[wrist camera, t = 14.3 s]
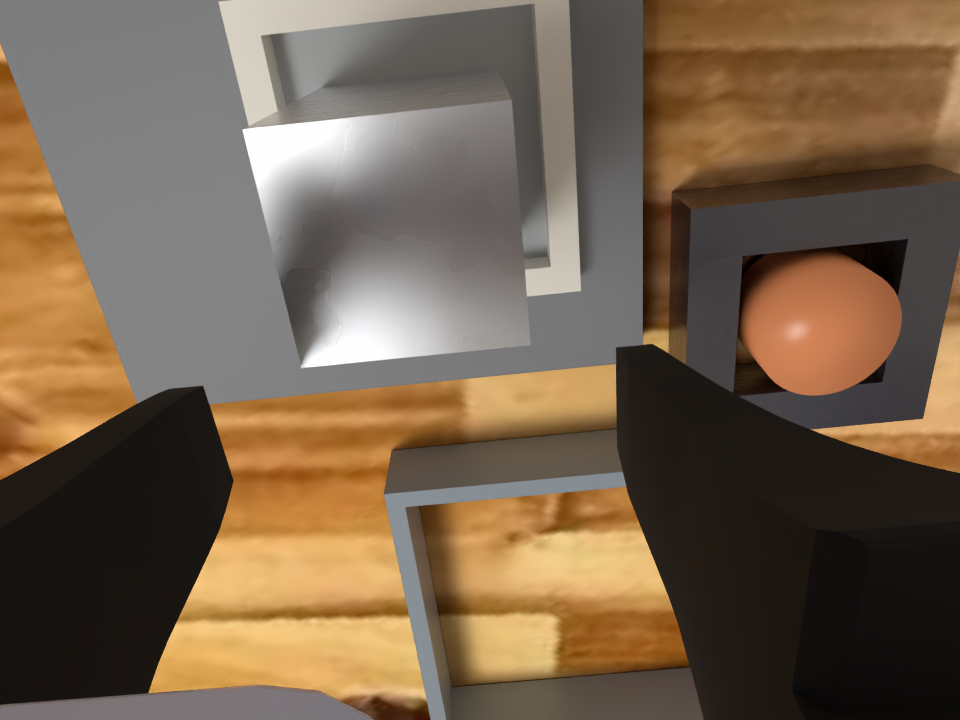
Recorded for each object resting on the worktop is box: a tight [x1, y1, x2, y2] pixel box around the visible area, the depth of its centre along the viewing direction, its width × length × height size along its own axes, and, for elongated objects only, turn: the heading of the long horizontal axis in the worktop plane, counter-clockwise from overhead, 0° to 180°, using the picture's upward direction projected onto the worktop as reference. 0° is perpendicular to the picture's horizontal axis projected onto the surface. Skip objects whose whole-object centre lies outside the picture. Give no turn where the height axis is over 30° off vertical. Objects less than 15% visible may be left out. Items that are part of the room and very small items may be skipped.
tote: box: [384, 429, 704, 720], centre depth 26 cm, size 13×13×2 cm
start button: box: [737, 247, 902, 396], centre depth 21 cm, size 4×4×2 cm
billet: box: [243, 67, 531, 368], centre depth 16 cm, size 4×4×7 cm
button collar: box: [669, 164, 960, 429], centre depth 21 cm, size 8×8×2 cm
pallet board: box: [0, 0, 643, 404], centre depth 19 cm, size 16×14×2 cm
